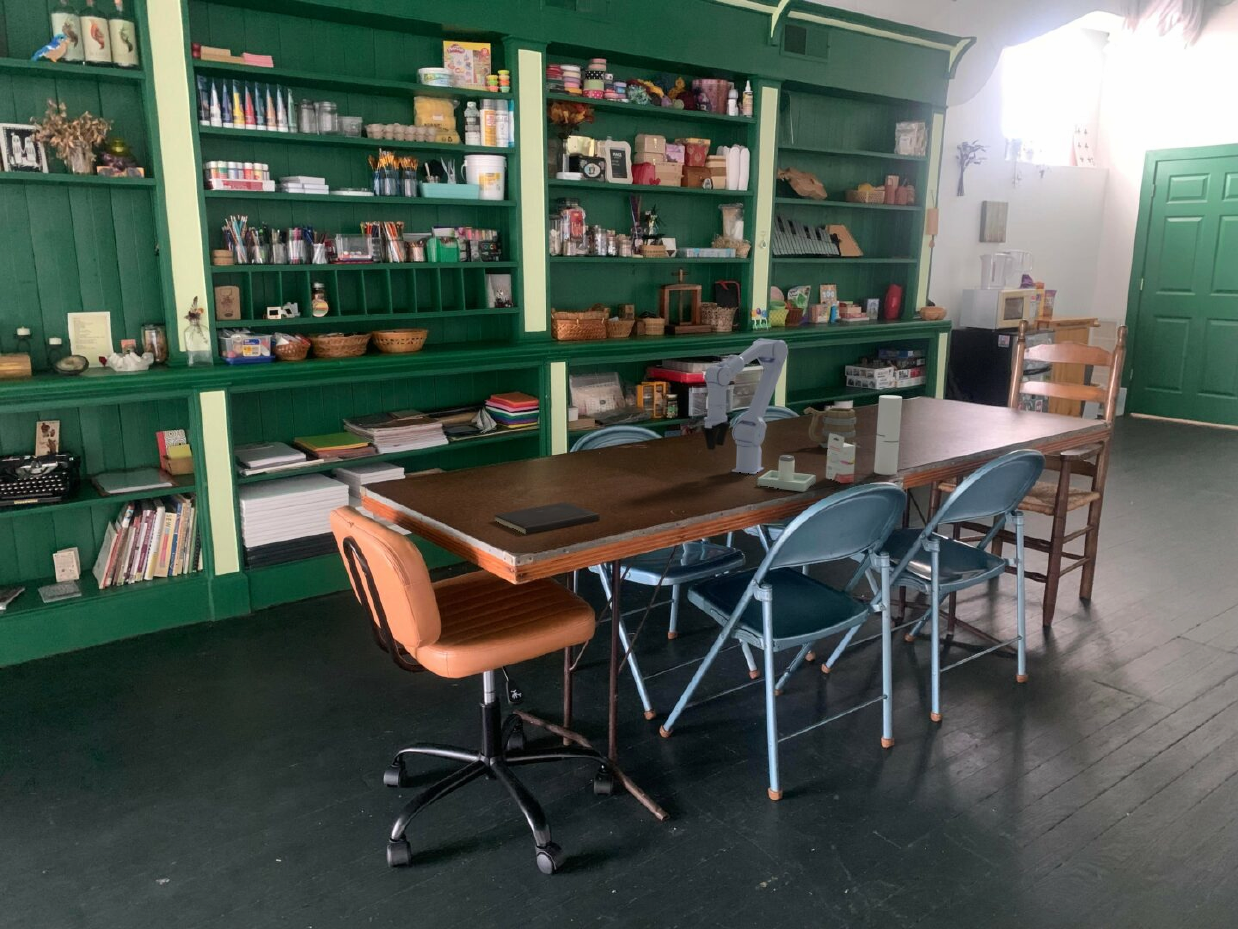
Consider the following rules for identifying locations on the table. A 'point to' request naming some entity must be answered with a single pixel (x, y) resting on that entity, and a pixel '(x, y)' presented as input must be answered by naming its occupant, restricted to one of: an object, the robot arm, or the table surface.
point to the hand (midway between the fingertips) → (715, 447)
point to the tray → (799, 484)
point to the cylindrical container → (888, 434)
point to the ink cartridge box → (840, 460)
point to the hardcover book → (546, 517)
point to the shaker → (786, 468)
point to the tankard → (833, 425)
